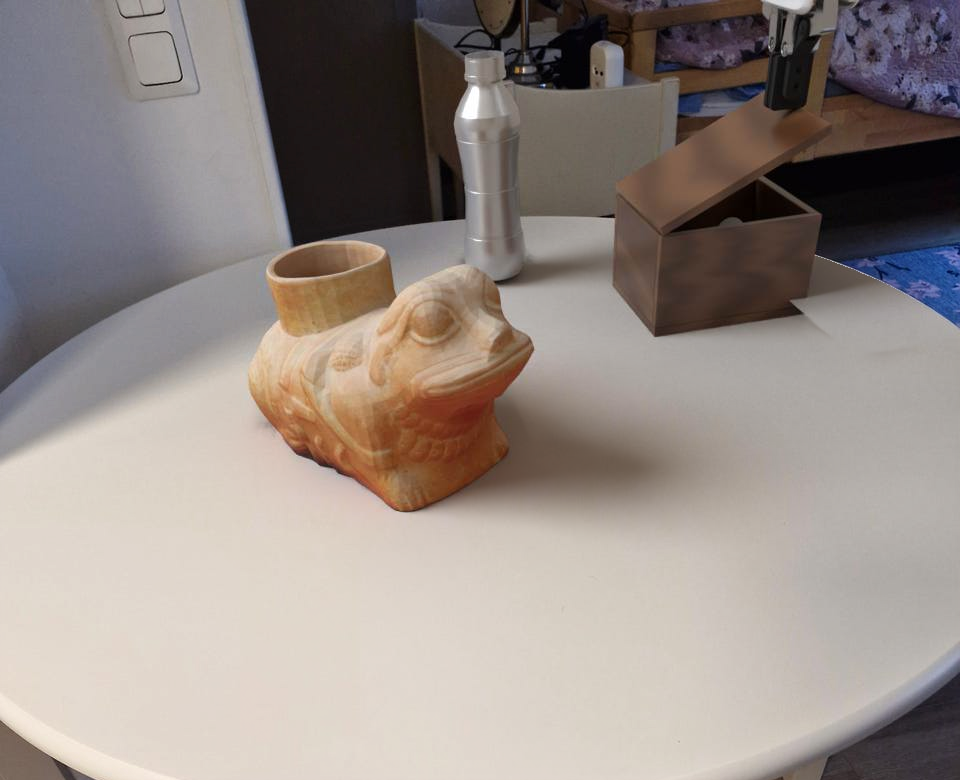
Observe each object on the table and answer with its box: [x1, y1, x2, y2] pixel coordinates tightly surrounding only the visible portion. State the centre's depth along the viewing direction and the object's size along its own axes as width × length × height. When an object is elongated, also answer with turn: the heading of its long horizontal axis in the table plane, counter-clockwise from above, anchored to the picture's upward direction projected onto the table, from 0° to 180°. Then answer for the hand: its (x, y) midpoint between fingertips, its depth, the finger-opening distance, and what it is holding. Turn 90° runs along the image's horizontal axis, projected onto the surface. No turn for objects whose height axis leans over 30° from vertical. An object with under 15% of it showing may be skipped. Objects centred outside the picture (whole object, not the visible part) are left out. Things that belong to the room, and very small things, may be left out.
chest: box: [612, 175, 823, 338], centre depth 84 cm, size 15×13×9 cm
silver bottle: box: [453, 50, 527, 282], centre depth 88 cm, size 6×7×20 cm
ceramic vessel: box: [247, 239, 535, 512], centre depth 66 cm, size 14×26×15 cm, turn 46°
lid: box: [614, 90, 834, 236], centre depth 79 cm, size 15×13×1 cm
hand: (784, 106), depth 77 cm, fingers closed
